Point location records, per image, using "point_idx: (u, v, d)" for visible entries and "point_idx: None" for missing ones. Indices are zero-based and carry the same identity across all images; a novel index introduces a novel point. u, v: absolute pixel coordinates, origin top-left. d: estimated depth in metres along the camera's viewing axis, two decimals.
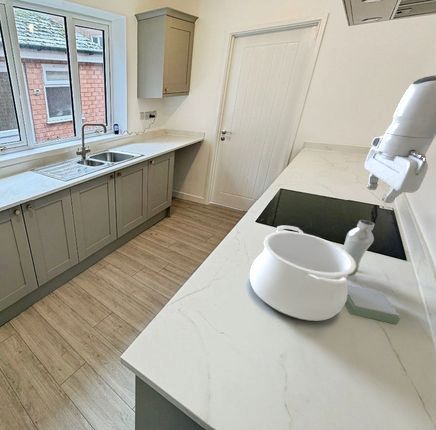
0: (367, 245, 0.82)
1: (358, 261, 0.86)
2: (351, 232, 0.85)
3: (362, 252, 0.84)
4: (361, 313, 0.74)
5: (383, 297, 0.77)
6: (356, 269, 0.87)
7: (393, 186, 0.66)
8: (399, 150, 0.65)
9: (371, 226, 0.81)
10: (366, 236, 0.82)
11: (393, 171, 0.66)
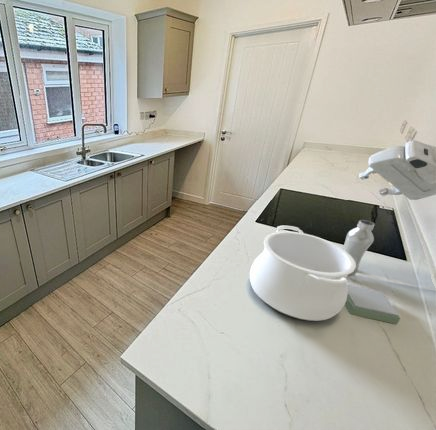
0: (367, 245, 0.82)
1: (358, 261, 0.86)
2: (351, 232, 0.85)
3: (362, 252, 0.84)
4: (361, 313, 0.74)
5: (383, 297, 0.77)
6: (356, 269, 0.87)
7: (409, 196, 0.78)
8: None
9: (371, 226, 0.81)
10: (366, 236, 0.82)
11: (416, 187, 0.75)
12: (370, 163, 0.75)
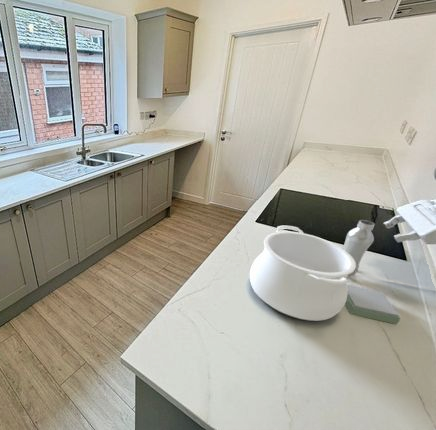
0: (367, 245, 0.82)
1: (358, 261, 0.86)
2: (351, 232, 0.85)
3: (362, 252, 0.84)
4: (361, 313, 0.74)
5: (383, 297, 0.77)
6: (356, 269, 0.87)
7: None
8: None
9: (371, 226, 0.81)
10: (366, 236, 0.82)
11: None
12: (430, 243, 0.71)
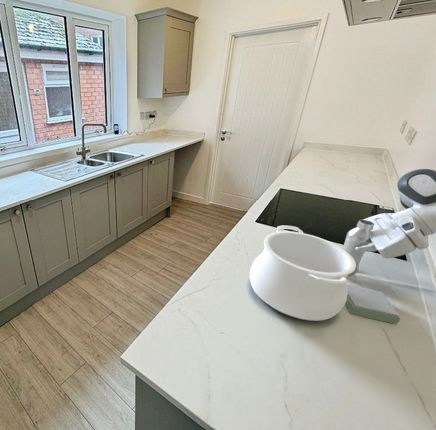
0: None
1: (358, 261, 0.86)
2: (351, 232, 0.85)
3: None
4: (361, 313, 0.74)
5: (383, 297, 0.77)
6: (356, 269, 0.87)
7: None
8: None
9: (371, 226, 0.81)
10: (366, 236, 0.82)
11: None
12: (387, 257, 0.75)
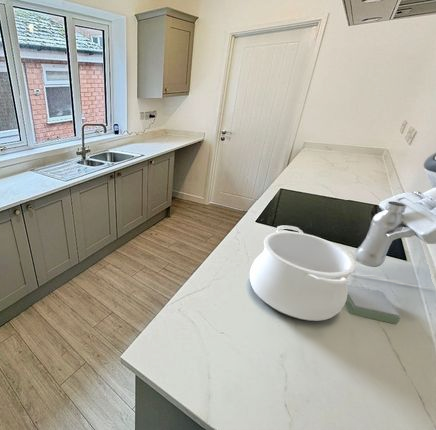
0: (399, 230, 0.71)
1: (387, 249, 0.75)
2: (379, 217, 0.73)
3: None
4: (361, 313, 0.74)
5: (383, 297, 0.77)
6: (384, 258, 0.76)
7: None
8: None
9: (404, 208, 0.70)
10: (398, 219, 0.70)
11: None
12: (432, 243, 0.64)
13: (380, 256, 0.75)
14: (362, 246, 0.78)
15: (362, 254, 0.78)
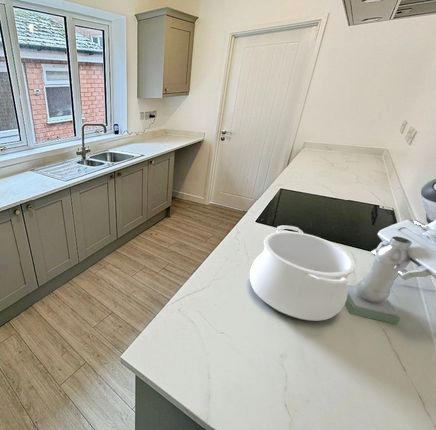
0: None
1: (391, 285, 0.72)
2: (384, 253, 0.69)
3: (397, 275, 0.70)
4: (361, 313, 0.74)
5: None
6: (388, 294, 0.73)
7: None
8: None
9: (410, 244, 0.66)
10: (404, 256, 0.67)
11: None
12: None
13: (386, 292, 0.72)
14: (366, 281, 0.74)
15: (367, 290, 0.74)
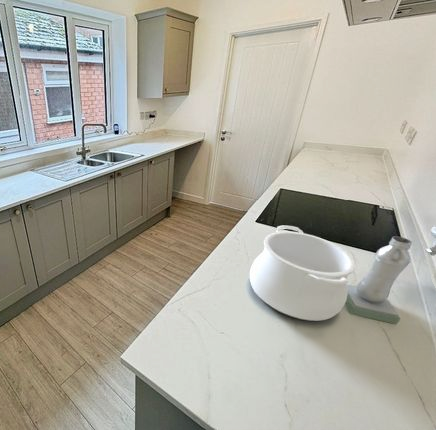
0: None
1: (391, 285, 0.72)
2: (384, 253, 0.69)
3: None
4: (361, 313, 0.74)
5: None
6: (388, 294, 0.73)
7: None
8: None
9: (410, 244, 0.66)
10: (405, 256, 0.67)
11: None
12: None
13: (386, 292, 0.72)
14: (366, 281, 0.74)
15: (367, 290, 0.74)
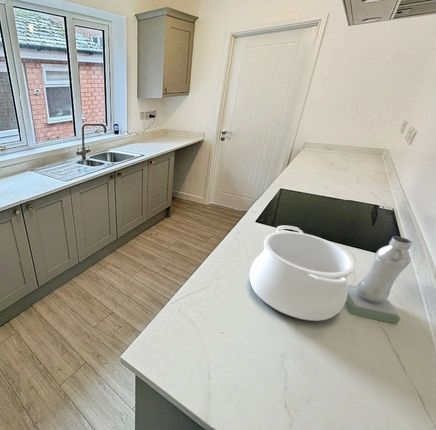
0: None
1: (391, 285, 0.72)
2: (384, 253, 0.69)
3: None
4: (361, 313, 0.74)
5: None
6: (388, 294, 0.73)
7: None
8: None
9: (410, 244, 0.66)
10: (405, 256, 0.67)
11: None
12: None
13: (386, 292, 0.72)
14: (366, 281, 0.74)
15: (367, 289, 0.74)
